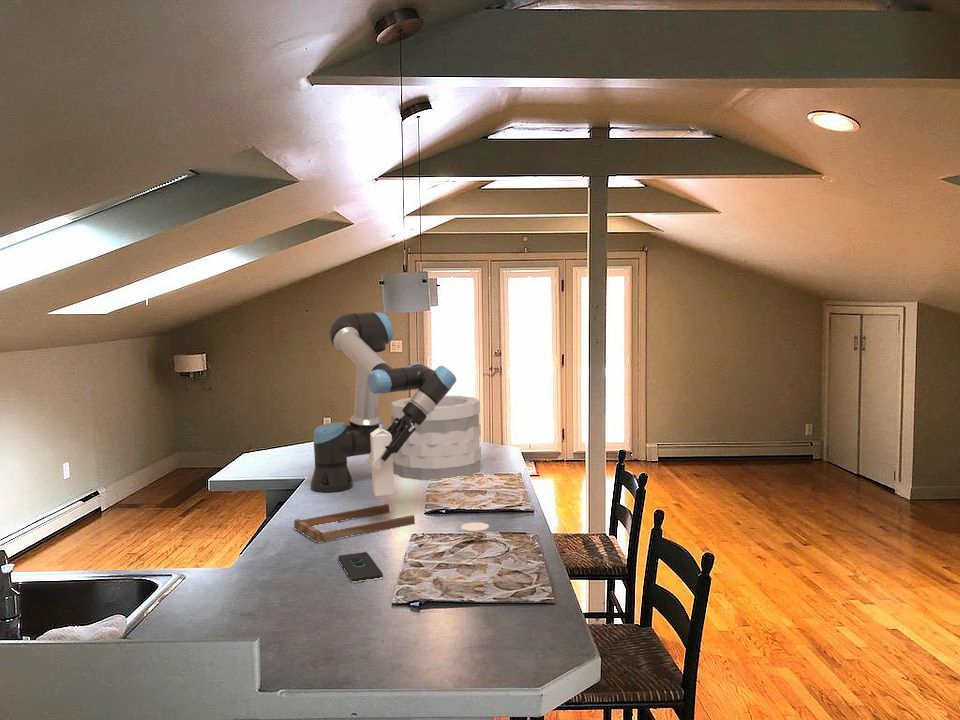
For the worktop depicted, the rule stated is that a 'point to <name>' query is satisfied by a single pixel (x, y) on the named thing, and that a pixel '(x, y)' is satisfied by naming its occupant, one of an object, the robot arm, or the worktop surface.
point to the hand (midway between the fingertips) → (371, 465)
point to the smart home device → (360, 566)
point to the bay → (318, 536)
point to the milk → (384, 475)
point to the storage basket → (441, 441)
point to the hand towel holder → (475, 528)
